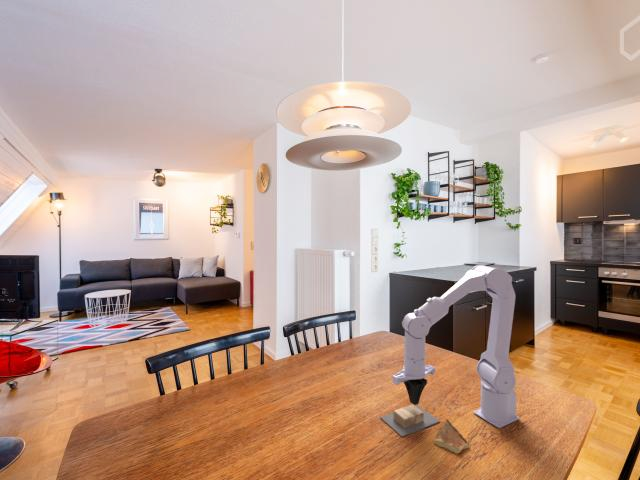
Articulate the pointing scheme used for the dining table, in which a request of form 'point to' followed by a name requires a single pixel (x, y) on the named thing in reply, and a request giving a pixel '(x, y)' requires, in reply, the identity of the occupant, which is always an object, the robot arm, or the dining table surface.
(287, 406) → the dining table surface
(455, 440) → the shard
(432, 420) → the felt mat
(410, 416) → the beech block
